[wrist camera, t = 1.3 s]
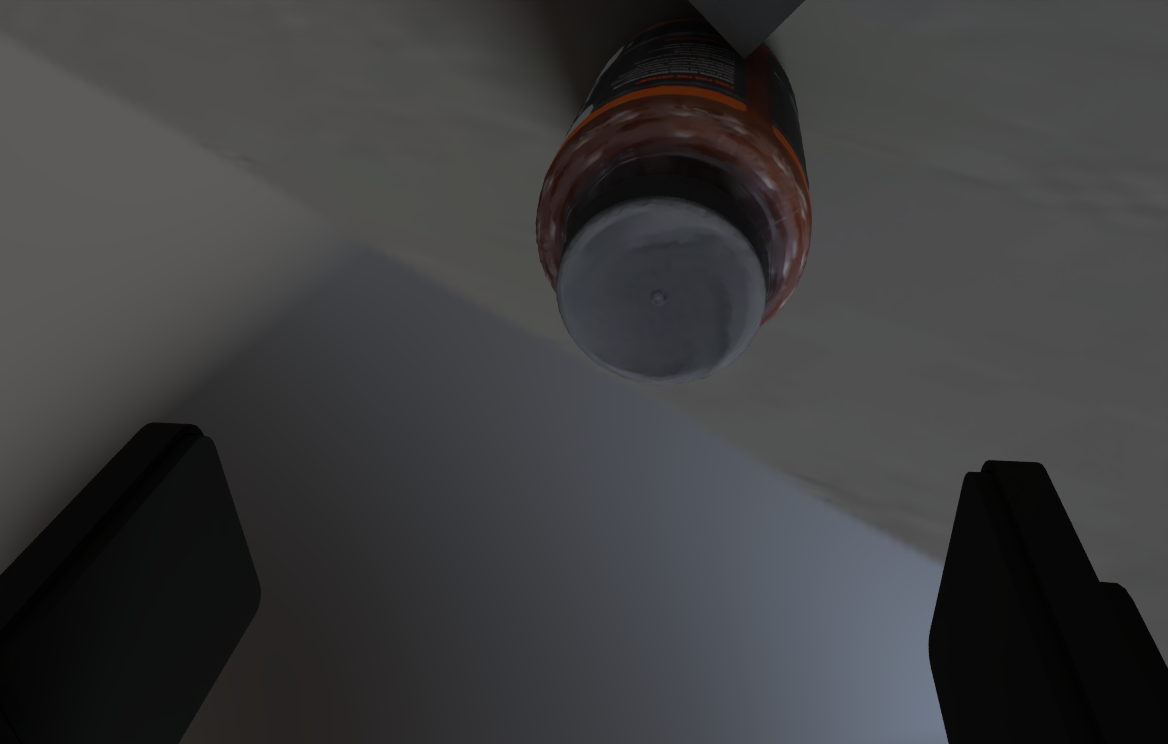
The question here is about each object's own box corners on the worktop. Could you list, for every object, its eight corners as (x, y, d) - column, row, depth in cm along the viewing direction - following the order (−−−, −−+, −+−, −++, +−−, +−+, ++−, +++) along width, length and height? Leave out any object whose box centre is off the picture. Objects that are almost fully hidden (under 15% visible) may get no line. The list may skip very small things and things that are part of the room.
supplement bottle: (553, 76, 26) (440, 227, 17) (742, -31, 24) (734, 73, 14) (649, 246, 28) (598, 464, 19) (829, 163, 26) (872, 363, 17)
